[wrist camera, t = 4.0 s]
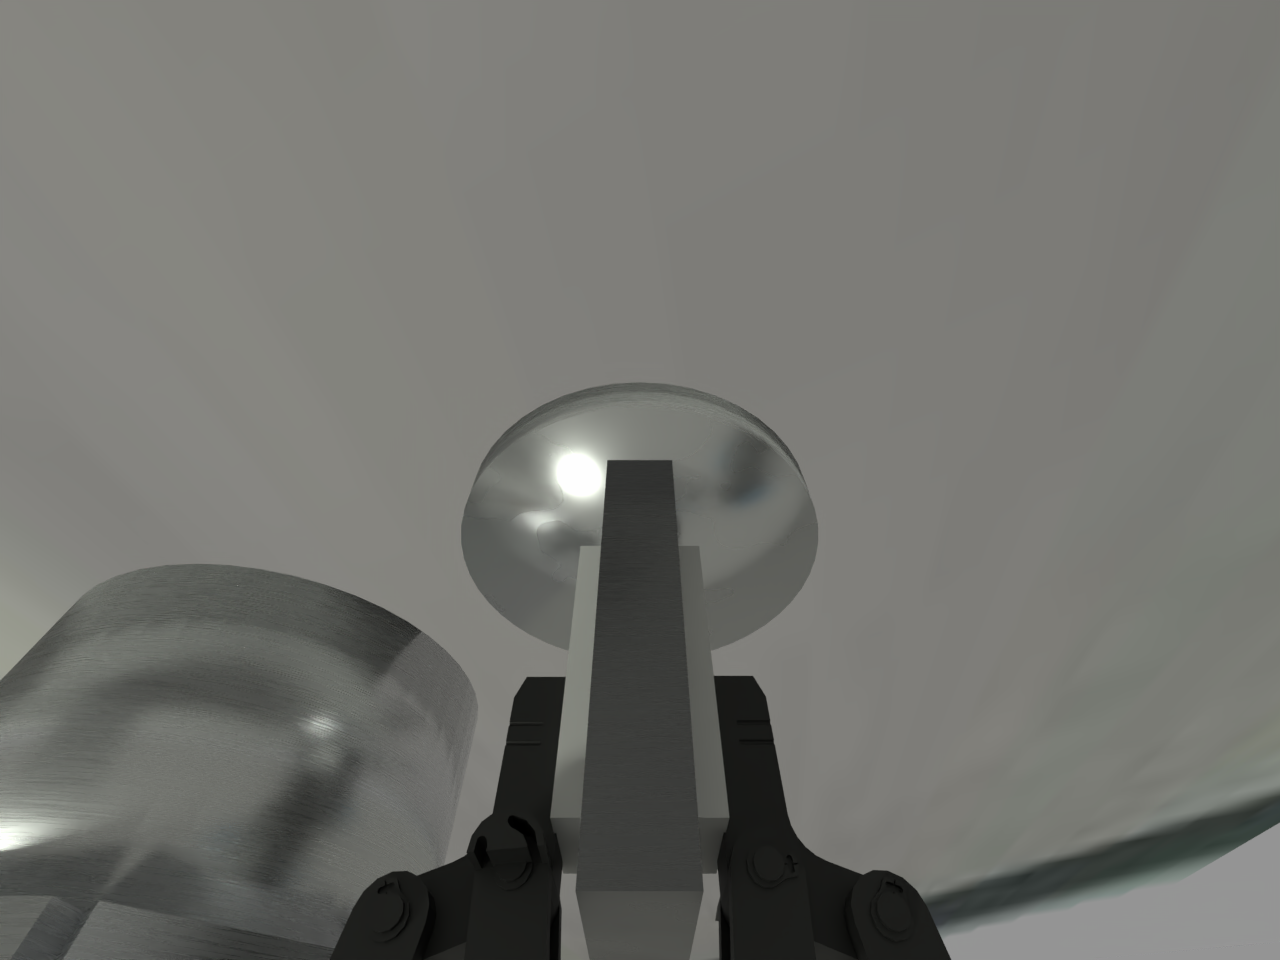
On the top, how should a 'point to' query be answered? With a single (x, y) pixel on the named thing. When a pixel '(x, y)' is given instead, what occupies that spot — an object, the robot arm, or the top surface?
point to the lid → (639, 611)
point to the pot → (220, 767)
